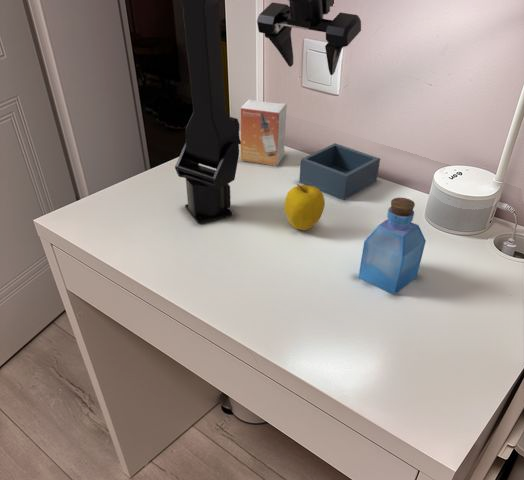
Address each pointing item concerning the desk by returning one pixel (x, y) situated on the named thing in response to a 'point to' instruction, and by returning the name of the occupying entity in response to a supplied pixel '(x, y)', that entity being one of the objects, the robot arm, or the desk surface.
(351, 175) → the bin
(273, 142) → the small box
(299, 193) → the apple
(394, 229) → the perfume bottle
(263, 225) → the desk surface
